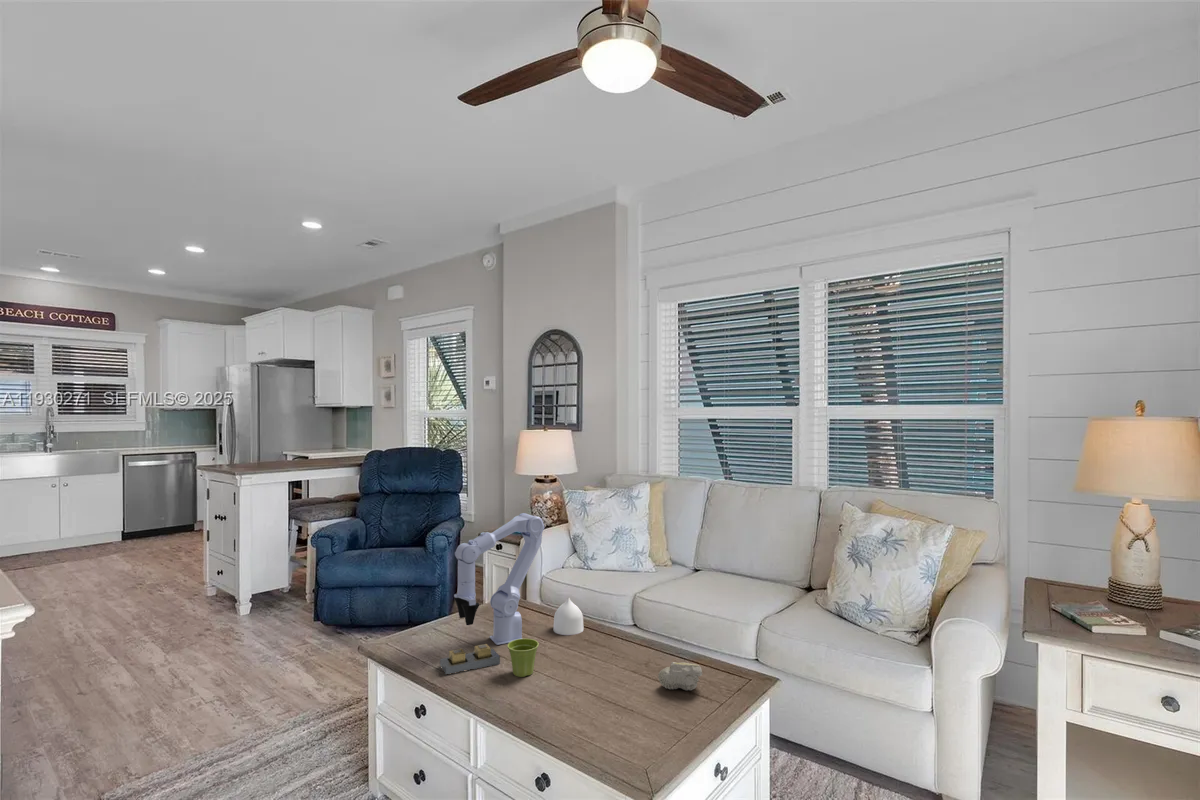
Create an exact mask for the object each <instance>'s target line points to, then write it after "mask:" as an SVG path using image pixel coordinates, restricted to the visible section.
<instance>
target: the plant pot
mask: <svg viewBox="0 0 1200 800" xmlns="http://www.w3.org/2000/svg"><path fill="white" fill-rule="evenodd" d="M539 644H540V643H539V641H537V640H536V639H533V638H522V639H517V640H513V641H511V642H510V643H507V648H508V652H509V655H510V660H511V669H512V674H513V675H514V676H515V677H520V678H524V677H527V676H532V674H533V673H534V669H535V662H536V661H535V660H536V654H537V650H538V647H539Z"/></svg>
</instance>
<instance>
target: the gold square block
mask: <svg viewBox="0 0 1200 800" xmlns="http://www.w3.org/2000/svg"><path fill="white" fill-rule="evenodd" d="M465 654H466V652H465V651H464V649H463V648H458V649H452V650H449V651H448V657H449V662H450V664H451V665H454V664H459V663H464V662H465Z"/></svg>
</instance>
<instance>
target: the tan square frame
mask: <svg viewBox="0 0 1200 800" xmlns="http://www.w3.org/2000/svg"><path fill="white" fill-rule="evenodd" d="M491 649H492V648H491V647H490V646H489V644H487V643H485V644H478V645H474V652H475V658H476V659H477V660H479V659H483V658H488V657H491Z"/></svg>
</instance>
